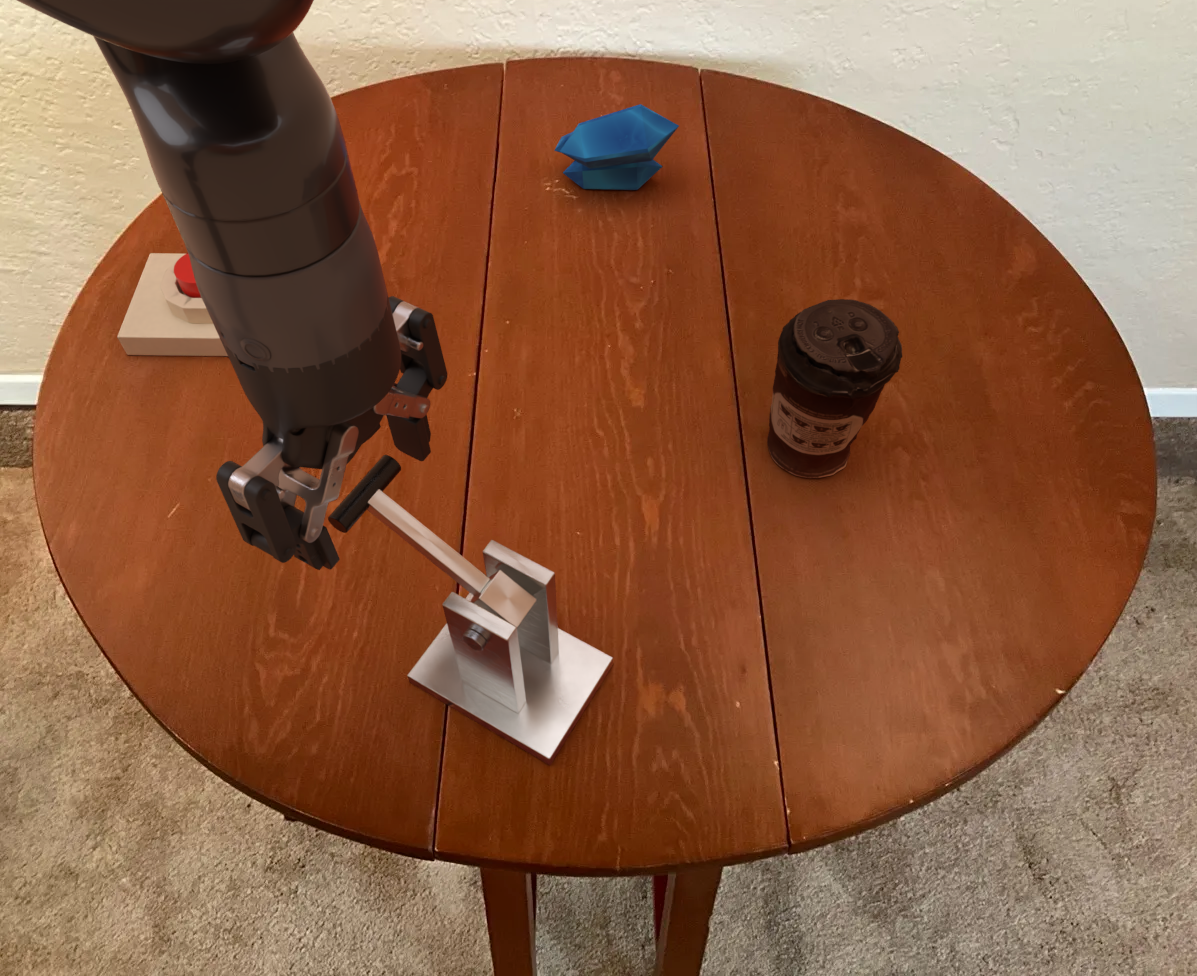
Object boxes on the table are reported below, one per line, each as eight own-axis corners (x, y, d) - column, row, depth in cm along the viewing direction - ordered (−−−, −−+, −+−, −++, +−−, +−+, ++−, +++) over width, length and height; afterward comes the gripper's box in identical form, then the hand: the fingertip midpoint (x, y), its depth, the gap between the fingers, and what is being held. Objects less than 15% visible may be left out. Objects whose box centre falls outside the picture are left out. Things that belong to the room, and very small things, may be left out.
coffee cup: (850, 508, 72) (897, 395, 62) (742, 478, 74) (769, 363, 63) (870, 422, 77) (916, 303, 66) (768, 395, 78) (797, 275, 68)
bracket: (409, 682, 64) (377, 597, 54) (477, 591, 68) (459, 496, 58) (550, 766, 61) (543, 691, 51) (613, 664, 65) (618, 578, 55)
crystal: (542, 98, 90) (670, 69, 88) (565, 173, 97) (684, 148, 95) (543, 147, 85) (677, 118, 84) (567, 223, 92) (691, 197, 91)
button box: (127, 355, 80) (107, 321, 77) (158, 271, 86) (142, 236, 82) (283, 357, 80) (271, 323, 77) (305, 273, 86) (294, 238, 83)
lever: (324, 523, 54) (331, 511, 52) (378, 462, 57) (388, 448, 55) (489, 655, 56) (502, 648, 54) (535, 589, 59) (550, 581, 56)
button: (175, 298, 79) (167, 282, 77) (187, 264, 81) (180, 248, 80) (224, 299, 79) (217, 283, 77) (235, 265, 81) (229, 249, 80)
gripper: (336, 181, 47) (392, 396, 60) (116, 371, 40) (234, 567, 53) (463, 234, 45) (492, 445, 58) (255, 445, 38) (342, 630, 51)
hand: (369, 503), depth 56 cm, fingers open, 8 cm apart
